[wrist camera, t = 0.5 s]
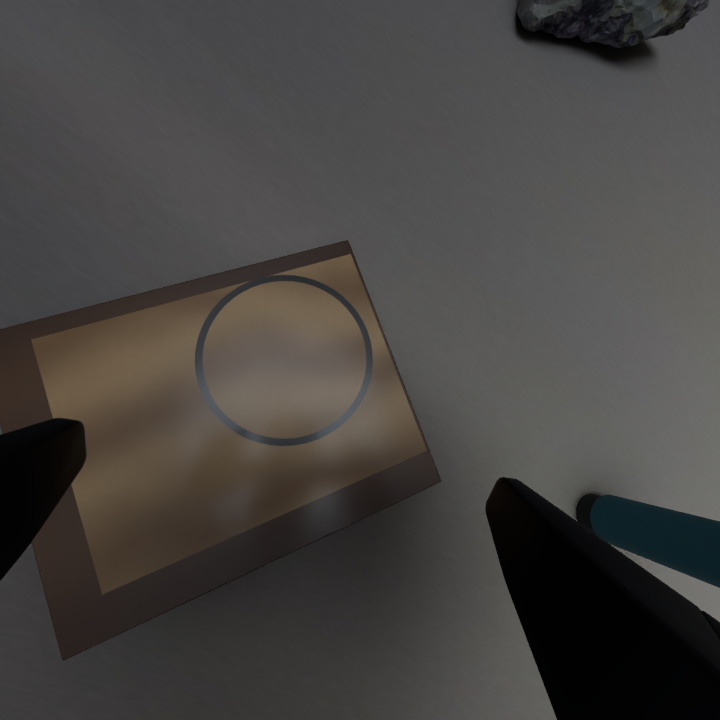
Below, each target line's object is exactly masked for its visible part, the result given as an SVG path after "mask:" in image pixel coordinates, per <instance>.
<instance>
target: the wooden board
mask: <svg viewBox="0 0 720 720" xmlns="http://www.w3.org/2000/svg"><path fill="white" fill-rule="evenodd" d="M53 418H66V419H73V420H79V421H81V422H82V423H83V425H84V428H85V439H86V451H87V456H86V461H85V463H84V466H83V467H82V469H81V470H80V472H79V473H78V475H77V476H76V478H75V479H74V481H73V482H72V484H71V485H70V487H69V488H68V490H67V491H66V493H65V494H64V496H63V497H62V499H61V500H60V501H59V503H58V504H57V506H56V507H55V509H54V510H53V512H52V513H51V515H50V516H49V518H48V519H47V521H46V522H45V524H44V525H43V527H42V528H41V530H40V531H39V532H38V534H37V535H36V536H35V538H34V539H33V541H32V545H33V549H34V553H35V557H36V561H37V564H38V568H39V572H40V576H41V580H42V584H43V587H44V591H45V595H46V599H47V603H48V606H49V610H50V614H51V618H52V622H53V625H54V629H55V633H56V637H57V641H58V644H59V648H60V652H61V656H62V660H65V659H68V658H70V657H72V656H74V655H76V654H78V653H80V652H82V651H84V650H87V649H89V648H91V647H93V646H95V645H97V644H99V643H101V642H103V641H106V640H108V639H110V638H112V637H114V636H116V635H118V634H120V633H122V632H125V631H127V630H129V629H131V628H133V627H135V626H137V625H139V624H141V623H144V622H146V621H148V620H150V619H152V618H154V617H156V616H158V615H160V614H163V613H165V612H167V611H169V610H171V609H173V608H175V607H177V606H179V605H182V604H184V603H186V602H188V601H190V600H192V599H194V598H196V597H198V596H201V595H203V594H205V593H207V592H209V591H211V590H213V589H215V588H217V587H220V586H222V585H224V584H226V583H228V582H230V581H232V580H234V579H236V578H239V577H241V576H243V575H245V574H247V573H249V572H251V571H253V570H255V569H258V568H260V567H262V566H264V565H266V564H268V563H270V562H272V561H274V560H277V559H279V558H281V557H283V556H285V555H287V554H289V553H291V552H293V551H296V550H298V549H300V548H302V547H304V546H306V545H308V544H310V543H312V542H315V541H317V540H319V539H321V538H323V537H325V536H327V535H329V534H331V533H334V532H336V531H338V530H340V529H342V528H344V527H346V526H348V525H350V524H353V523H355V522H357V521H359V520H361V519H363V518H365V517H367V516H369V515H372V514H374V513H376V512H378V511H380V510H382V509H384V508H386V507H388V506H391V505H393V504H395V503H397V502H399V501H401V500H403V499H405V498H407V497H410V496H412V495H414V494H416V493H418V492H420V491H422V490H424V489H426V488H429V487H431V486H433V485H435V484H437V483H439V482H441V479H440V477H439V474H438V471H437V469H436V466H435V464H434V461H433V459H432V456H431V453H430V451H429V448H428V446H427V443H426V440H425V438H424V435H423V433H422V430H421V428H420V425H419V422H418V420H417V417H416V415H415V412H414V409H413V407H412V404H411V402H410V399H409V397H408V394H407V391H406V389H405V386H404V384H403V381H402V379H401V376H400V373H399V371H398V368H397V366H396V363H395V360H394V358H393V355H392V353H391V350H390V348H389V345H388V342H387V340H386V337H385V335H384V332H383V329H382V327H381V324H380V322H379V319H378V317H377V314H376V311H375V309H374V306H373V304H372V301H371V299H370V296H369V293H368V291H367V288H366V286H365V283H364V280H363V278H362V275H361V273H360V270H359V268H358V265H357V262H356V260H355V257H354V255H353V252H352V249H351V247H350V244H349V242H348V240H346V241H342V242H339V243H335V244H331V245H327V246H323V247H319V248H315V249H311V250H307V251H303V252H300V253H296V254H292V255H288V256H284V257H280V258H276V259H272V260H268V261H265V262H261V263H257V264H253V265H249V266H245V267H241V268H237V269H233V270H230V271H226V272H222V273H218V274H214V275H210V276H206V277H202V278H198V279H195V280H191V281H187V282H183V283H179V284H175V285H171V286H167V287H163V288H160V289H156V290H152V291H148V292H144V293H140V294H136V295H132V296H128V297H125V298H121V299H117V300H113V301H109V302H105V303H101V304H97V305H93V306H89V307H86V308H82V309H78V310H74V311H70V312H66V313H62V314H58V315H54V316H51V317H47V318H43V319H39V320H35V321H31V322H27V323H23V324H19V325H16V326H12V327H8V328H4V329H0V424H1V427H2V431H3V434H5V433H8V432H11V431H15V430H18V429H21V428H24V427H27V426H31V425H34V424H37V423H40V422H44V421H47V420H50V419H53Z"/></svg>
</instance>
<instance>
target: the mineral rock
mask: <svg viewBox="0 0 720 720" xmlns="http://www.w3.org/2000/svg"><path fill="white" fill-rule="evenodd" d="M708 4H709V0H520V2H519V4H518V9H517V14H518V16H519V18H520V20H521V22H522V25H523V27H524V28H525V29H527V30H529V31H532V32H534V31H537V30H539V29H541V30H543V31H544V32H547V33H553V34H554V35H555V36H556V37H557V38H573V37H576V36H579V38H580V40H582V41H584V42H586V43H589V42H599V43H602V44H607V45H610V46H612V47H614V48H622V47H626V46H634V45H636V44H638V43H641V42H643V41H646V40H648V39H650V38H655V37H658V36H668V35H669V34H673V33H674V32H676V31H677V30H680V29H683V28H684V27H685V24H686V23H687V22H688V21H689V20H690V19H691V18H693V17H694V16H697V15H698V14H699V13H700V12H701V11H702V10H704V9H705V8H707V6H708Z"/></svg>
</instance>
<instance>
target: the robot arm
mask: <svg viewBox="0 0 720 720" xmlns="http://www.w3.org/2000/svg"><path fill="white" fill-rule="evenodd" d="M86 456H87V451H86V439H85V428H84V425H83V423H82V422H81V421H79V420H73V419H66V418H53V419H50V420H47V421H44V422H40V423H37V424H34V425H31V426H27V427H24V428H21V429H18V430H15V431H11V432H8V433H5V434H2V435H0V580H1V579H2V578H3V577H4V576H5V574H6V573H7V572H8V571H9V569H10V568H11V567H12V566H13V565H14V563H15V562H16V561H17V560H18V559H19V557H20V556H21V555H22V554H23V552H24V551H25V550H26V548H27V547H28V546H29V545H30V543H31V542H32V541H33V539H34V538H35V536H36V535H37V534H38V532H39V531H40V530H41V528H42V527H43V525H44V524H45V522H46V521H47V519H48V518H49V516H50V515H51V513H52V512H53V510H54V509H55V507H56V506H57V504H58V503H59V501H60V500H61V499H62V497H63V496H64V494H65V493H66V491H67V490H68V488H69V487H70V485H71V484H72V482H73V481H74V479H75V478H76V476H77V475H78V473H79V472H80V470H81V469H82V467H83V466H84V463H85V461H86ZM486 515H487V519H488V522H489V526H490V529H491V533H492V536H493V540H494V544H495V547H496V551H497V554H498V558H499V562H500V565H501V569H502V572H503V575H504V578H505V581H506V584H507V587H508V590H509V593H510V595H511V598H512V601H513V603H514V606H515V609H516V611H517V614H518V617H519V619H520V622H521V625H522V627H523V630H524V633H525V635H526V638H527V641H528V643H529V646H530V649H531V651H532V654H533V657H534V659H535V662H536V665H537V667H538V670H539V673H540V675H541V678H542V681H543V683H544V686H545V689H546V691H547V694H548V697H549V699H550V702H551V704H552V707H553V710H554V712H555V715H556V718H557V720H720V622H719V621H717V620H716V619H714V618H713V617H712V616H710V615H709V614H707V613H706V612H704V611H701V610H700V609H699V608H698V607H697V606H696V605H694V604H693V603H692V602H690V601H689V600H687V599H686V598H685V597H683V596H682V595H680V594H679V593H677V592H676V591H675V590H673V589H672V588H670V587H669V586H668V585H666V584H665V583H663V582H662V581H661V580H659V579H658V578H656V577H655V576H653V575H652V574H651V573H649V572H648V571H646V570H645V569H644V568H642V567H641V566H639V565H638V564H636V563H635V562H634V561H632V560H631V559H629V558H628V557H627V556H625V555H624V554H622V553H621V552H620V551H618V550H617V549H615V548H614V547H612V546H611V545H610V544H608V543H607V542H605V541H604V540H603V539H601V538H600V537H598V536H597V535H595V534H594V533H593V532H591V531H590V530H588V529H587V528H586V527H584V526H583V525H581V524H580V523H579V522H577V521H576V520H574V519H573V518H571V517H570V516H569V515H567V514H566V513H564V512H563V511H562V510H560V509H559V508H557V507H556V506H554V505H553V504H552V503H550V502H549V501H547V500H546V499H545V498H543V497H542V496H540V495H539V494H538V493H536V492H535V491H533V490H532V489H530V488H529V487H528V486H526V485H525V484H523V483H522V482H521V481H519V480H517V479H512V478H505V477H502V478H499V479H498V480H497V482H496V483H495V485H494V488H493V490H492V492H491V494H490V496H489V498H488V500H487V502H486Z"/></svg>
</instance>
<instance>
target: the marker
mask: <svg viewBox="0 0 720 720" xmlns="http://www.w3.org/2000/svg"><path fill="white" fill-rule="evenodd" d="M577 516H578V520H579V522H580V524H581V525H583V526H584V527H586V528H587V529H588V530H590V531H591V532H593V533H594V534H595V535H597V536H598V537H600V538H601V539H603V540H604V541H605V542H607V543H609V544H612V545H614V546H617V547H619V548H622V549H624V550H627V551H629V552H632V553H634V554H637V555H639V556H642V557H644V558H647V559H649V560H652V561H654V562H657V563H659V564H662V565H664V566H667V567H669V568H672V569H674V570H677V571H679V572H682V573H684V574H687V575H689V576H692V577H694V578H697V579H699V580H702V581H704V582H707V583H709V584H712V585H714V586H717V587H719V588H720V522H719V521H715V520H711V519H707V518H703V517H699V516H695V515H691V514H687V513H683V512H678V511H674V510H670V509H666V508H662V507H658V506H654V505H650V504H646V503H642V502H637V501H633V500H629V499H625V498H621V497H617V496H613V495H604V496H600V495H596V494H589V495H586V496H584V497H583V498H582V499H581V500H580V502H579V504H578V507H577Z"/></svg>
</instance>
